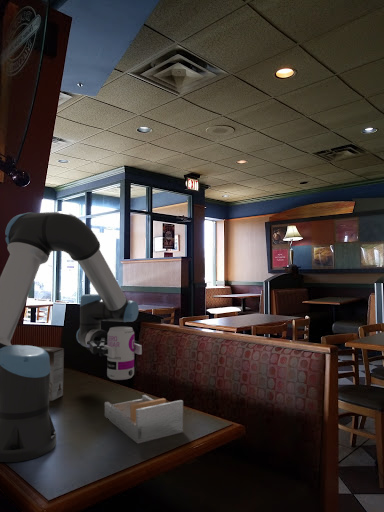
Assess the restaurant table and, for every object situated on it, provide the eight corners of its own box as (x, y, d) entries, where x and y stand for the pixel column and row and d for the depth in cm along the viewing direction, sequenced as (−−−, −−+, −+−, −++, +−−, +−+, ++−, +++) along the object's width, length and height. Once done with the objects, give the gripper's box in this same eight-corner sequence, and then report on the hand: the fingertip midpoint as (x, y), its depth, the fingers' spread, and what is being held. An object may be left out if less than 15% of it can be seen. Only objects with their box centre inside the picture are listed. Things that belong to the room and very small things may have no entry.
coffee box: (28, 398, 131) (29, 349, 132) (40, 393, 137) (41, 346, 138) (52, 401, 129) (53, 351, 130) (64, 395, 135) (64, 347, 136)
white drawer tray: (104, 416, 115) (104, 388, 116) (145, 407, 122) (145, 381, 123) (137, 443, 97) (137, 410, 97) (182, 431, 104) (183, 400, 104)
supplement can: (136, 373, 127) (136, 326, 128) (130, 380, 119) (130, 330, 119) (111, 373, 128) (112, 326, 128) (103, 380, 119) (104, 329, 120)
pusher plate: (130, 426, 104) (130, 404, 104) (163, 419, 110) (163, 398, 110) (132, 428, 103) (132, 405, 103) (165, 420, 109) (165, 399, 109)
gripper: (127, 348, 144) (157, 360, 125) (69, 355, 133) (93, 368, 114) (127, 327, 144) (158, 336, 126) (69, 332, 133) (93, 342, 114)
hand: (127, 351), depth 120 cm, fingers closed on supplement can, 8 cm apart
